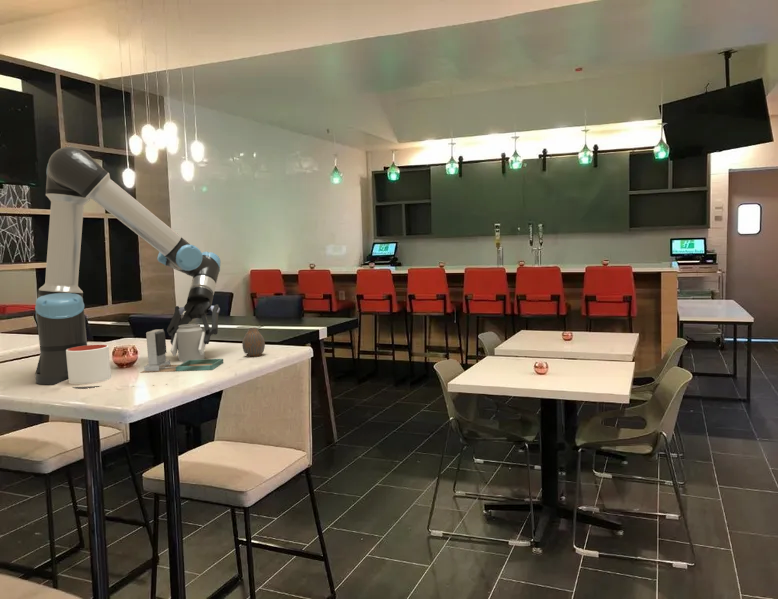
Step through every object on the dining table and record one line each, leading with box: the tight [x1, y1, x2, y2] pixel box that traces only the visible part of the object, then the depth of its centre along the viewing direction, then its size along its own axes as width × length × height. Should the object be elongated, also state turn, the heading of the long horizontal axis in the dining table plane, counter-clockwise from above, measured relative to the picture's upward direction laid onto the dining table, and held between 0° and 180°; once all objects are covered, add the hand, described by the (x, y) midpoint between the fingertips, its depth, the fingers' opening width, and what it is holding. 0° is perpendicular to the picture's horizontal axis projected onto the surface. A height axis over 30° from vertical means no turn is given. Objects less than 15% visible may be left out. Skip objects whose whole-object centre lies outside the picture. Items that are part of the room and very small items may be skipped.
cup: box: [66, 344, 112, 390], centre depth 163 cm, size 10×10×10 cm
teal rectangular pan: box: [139, 358, 224, 374], centre depth 175 cm, size 20×10×3 cm, turn 88°
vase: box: [241, 327, 266, 358], centre depth 198 cm, size 7×7×9 cm
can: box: [177, 323, 206, 363], centre depth 187 cm, size 8×8×12 cm
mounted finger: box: [144, 328, 171, 373], centre depth 174 cm, size 4×8×11 cm, turn 178°
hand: (187, 352), depth 184 cm, fingers closed on can, 7 cm apart
